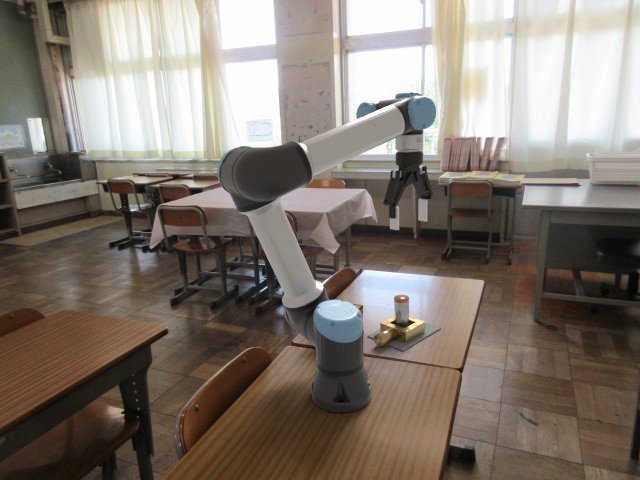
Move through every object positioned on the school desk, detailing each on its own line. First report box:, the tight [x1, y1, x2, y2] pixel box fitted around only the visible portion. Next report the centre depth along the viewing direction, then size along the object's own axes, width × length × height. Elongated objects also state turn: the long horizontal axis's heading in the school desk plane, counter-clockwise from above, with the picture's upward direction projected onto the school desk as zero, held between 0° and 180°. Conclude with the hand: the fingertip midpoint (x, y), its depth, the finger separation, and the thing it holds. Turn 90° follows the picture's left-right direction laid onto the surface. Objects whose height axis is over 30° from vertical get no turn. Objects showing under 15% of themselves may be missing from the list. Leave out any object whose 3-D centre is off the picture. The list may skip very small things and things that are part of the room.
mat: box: [367, 322, 442, 352], centre depth 143 cm, size 20×14×1 cm
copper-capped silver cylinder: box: [393, 294, 411, 328], centre depth 140 cm, size 5×5×12 cm
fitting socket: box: [373, 315, 426, 347], centre depth 139 cm, size 17×10×4 cm, turn 133°
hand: (409, 225), depth 129 cm, fingers open, 13 cm apart
